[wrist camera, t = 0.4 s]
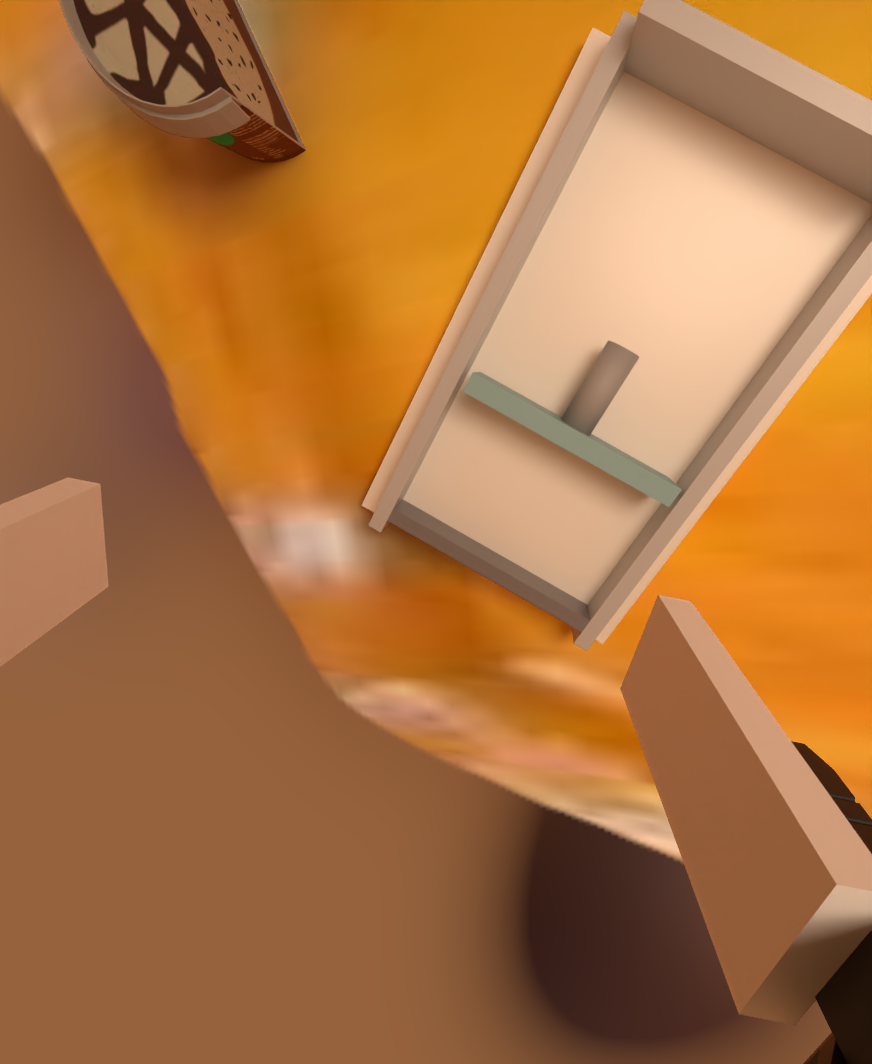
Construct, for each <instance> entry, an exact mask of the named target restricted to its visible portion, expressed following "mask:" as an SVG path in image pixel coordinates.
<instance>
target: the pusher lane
mask: <svg viewBox="0 0 872 1064" xmlns="http://www.w3.org/2000/svg"><path fill="white" fill-rule="evenodd" d="M871 293H872V100H870V99H868V98H866V97H864V96H862V95H860V94H858V93H856V92H855V91H853V90H851V89H849V88H847V87H845V86H843V85H841V84H839V83H837V82H836V81H834V80H832V79H830V78H828V77H826V76H824V75H822V74H820V73H819V72H817V71H815V70H813V69H811V68H809V67H807V66H805V65H803V64H801V63H800V62H798V61H796V60H794V59H792V58H790V57H788V56H786V55H784V54H782V53H781V52H779V51H777V50H775V49H773V48H771V47H769V46H767V45H765V44H764V43H762V42H760V41H758V40H756V39H754V38H752V37H750V36H748V35H746V34H745V33H743V32H741V31H739V30H737V29H735V28H733V27H731V26H729V25H728V24H726V23H724V22H722V21H720V20H718V19H716V18H714V17H712V16H710V15H709V14H707V13H705V12H703V11H701V10H699V9H697V8H695V7H693V6H691V5H690V4H688V3H686V2H684V1H682V0H644V2H643V4H642V6H641V8H640V10H639V12H638V16H637V17H636V16H634V15H632V14H630V13H628V12H626V11H624V12H623V14H622V16H621V18H620V20H619V22H618V24H617V26H616V28H615V30H614V32H613V34H612V36H611V37H610V36H608V35H607V34H605V33H603V32H601V31H599V30H597V29H595V28H592V30H591V32H590V34H589V36H588V38H587V40H586V42H585V44H584V47H583V49H582V51H581V53H580V55H579V57H578V59H577V61H576V63H575V65H574V67H573V69H572V71H571V73H570V75H569V78H568V80H567V82H566V84H565V86H564V88H563V90H562V92H561V94H560V96H559V98H558V100H557V102H556V104H555V106H554V109H553V111H552V113H551V115H550V117H549V119H548V121H547V123H546V125H545V127H544V129H543V131H542V133H541V135H540V137H539V140H538V142H537V144H536V146H535V148H534V150H533V152H532V154H531V156H530V158H529V160H528V162H527V164H526V166H525V168H524V171H523V173H522V175H521V177H520V179H519V181H518V183H517V185H516V187H515V189H514V191H513V193H512V195H511V197H510V199H509V201H508V204H507V206H506V208H505V210H504V212H503V214H502V216H501V218H500V220H499V222H498V224H497V226H496V228H495V230H494V232H493V235H492V237H491V239H490V241H489V243H488V245H487V247H486V249H485V251H484V253H483V255H482V257H481V259H480V261H479V263H478V266H477V268H476V270H475V272H474V274H473V276H472V278H471V280H470V282H469V284H468V286H467V288H466V290H465V292H464V294H463V297H462V299H461V301H460V303H459V305H458V307H457V309H456V311H455V313H454V315H453V317H452V319H451V321H450V323H449V325H448V328H447V330H446V332H445V334H444V336H443V338H442V340H441V342H440V344H439V346H438V348H437V350H436V352H435V354H434V356H433V359H432V361H431V363H430V365H429V367H428V369H427V371H426V373H425V375H424V377H423V379H422V381H421V383H420V385H419V387H418V390H417V392H416V394H415V396H414V398H413V400H412V402H411V404H410V406H409V408H408V410H407V412H406V414H405V416H404V418H403V421H402V423H401V425H400V427H399V429H398V431H397V433H396V435H395V437H394V439H393V441H392V443H391V445H390V447H389V449H388V451H387V454H386V456H385V458H384V460H383V462H382V464H381V466H380V468H379V470H378V472H377V474H376V476H375V478H374V480H373V482H372V485H371V487H370V489H369V491H368V493H367V495H366V497H365V499H364V501H363V503H362V505H361V506H363V507H365V508H367V509H368V510H370V511H372V512H374V515H373V517H372V519H371V521H370V523H369V525H368V526H370V527H372V528H373V529H375V530H377V531H379V532H380V533H381V532H382V531H383V530H384V529H385V528H386V527H387V526H388V525H389V524H390V523H392V524H394V525H395V526H397V527H399V528H401V529H402V530H404V531H406V532H408V533H409V534H411V535H413V536H415V537H416V538H418V539H420V540H422V541H423V542H425V543H427V544H429V545H430V546H432V547H434V548H435V549H437V550H439V551H441V552H442V553H444V554H446V555H448V556H449V557H451V558H453V559H455V560H456V561H458V562H460V563H462V564H463V565H465V566H467V567H469V568H470V569H472V570H474V571H476V572H477V573H479V574H481V575H483V576H484V577H486V578H488V579H490V580H491V581H493V582H495V583H496V584H498V585H500V586H502V587H503V588H505V589H507V590H509V591H510V592H512V593H514V594H516V595H517V596H519V597H521V598H523V599H524V600H526V601H528V602H530V603H531V604H533V605H535V606H537V607H538V608H540V609H542V610H544V611H545V612H547V613H549V614H551V615H552V616H554V617H556V618H558V619H559V620H561V621H563V622H564V623H566V624H568V625H570V626H571V627H572V631H573V643H574V644H575V645H577V646H579V647H580V648H582V649H584V650H586V651H587V650H588V649H589V647H590V646H591V645H592V643H593V642H594V641H595V640H597V641H599V642H600V643H602V644H603V643H604V642H605V640H606V639H607V638H608V636H609V635H610V634H611V632H612V631H613V630H614V629H615V627H616V626H617V625H618V623H619V622H620V621H621V619H622V618H623V617H624V615H625V614H626V613H627V612H628V610H629V609H630V608H631V606H632V605H633V604H634V602H635V601H636V600H637V599H638V597H639V596H640V595H641V593H642V592H643V591H644V589H645V588H646V587H647V586H648V584H649V583H650V582H651V580H652V579H653V578H654V576H655V575H656V574H657V572H658V571H659V570H660V569H661V567H662V566H663V565H664V563H665V562H666V561H667V559H668V558H669V557H670V556H671V554H672V553H673V552H674V550H675V549H676V548H677V546H678V545H679V544H680V542H681V541H682V540H683V539H684V537H685V536H686V535H687V533H688V532H689V531H690V529H691V528H692V527H693V526H694V524H695V523H696V522H697V520H698V519H699V518H700V516H701V515H702V514H703V513H704V511H705V510H706V509H707V507H708V506H709V505H710V503H711V502H712V501H713V499H714V498H715V497H716V496H717V494H718V493H719V492H720V490H721V489H722V488H723V486H724V485H725V484H726V483H727V481H728V480H729V479H730V477H731V476H732V475H733V473H734V472H735V471H736V469H737V468H738V467H739V466H740V464H741V463H742V462H743V460H744V459H745V458H746V456H747V455H748V454H749V453H750V451H751V450H752V449H753V447H754V446H755V445H756V443H757V442H758V441H759V440H760V438H761V437H762V436H763V434H764V433H765V432H766V430H767V429H768V428H769V426H770V425H771V424H772V423H773V421H774V420H775V419H776V417H777V416H778V415H779V413H780V412H781V411H782V410H783V408H784V407H785V406H786V404H787V403H788V402H789V400H790V399H791V398H792V396H793V395H794V394H795V393H796V391H797V390H798V389H799V387H800V386H801V385H802V383H803V382H804V381H805V380H806V378H807V377H808V376H809V374H810V373H811V372H812V370H813V369H814V368H815V367H816V365H817V364H818V363H819V361H820V360H821V359H822V357H823V356H824V355H825V353H826V352H827V351H828V350H829V348H830V347H831V346H832V344H833V343H834V342H835V340H836V339H837V338H838V337H839V335H840V334H841V333H842V331H843V330H844V329H845V327H846V326H847V325H848V323H849V322H850V321H851V320H852V318H853V317H854V316H855V314H856V313H857V312H858V310H859V309H860V308H861V307H862V305H863V304H864V303H865V301H866V300H867V299H868V297H869V296H870V295H871ZM608 340H609V341H612V342H614V343H617V344H619V345H621V346H622V347H624V348H626V349H628V350H630V351H631V352H633V353H635V354H636V355H638V356H639V359H638V360H637V362H636V364H635V365H634V367H633V368H632V370H631V371H630V373H629V375H628V376H627V378H626V379H625V381H624V382H623V384H622V386H621V387H620V389H619V390H618V392H617V394H616V395H615V397H614V398H613V400H612V401H611V403H610V405H609V406H608V408H607V409H606V411H605V412H604V414H603V416H602V417H601V419H600V420H599V422H598V423H597V425H596V427H595V428H594V430H593V431H592V433H591V434H592V435H594V436H596V437H598V438H600V439H601V440H603V441H605V442H607V443H608V444H610V445H612V446H614V447H616V448H617V449H619V450H621V451H623V452H625V453H626V454H628V455H630V456H632V457H633V458H635V459H637V460H639V461H641V462H642V463H644V464H646V465H648V466H650V467H651V468H653V469H655V470H657V471H658V472H660V473H662V474H664V475H666V476H667V477H669V478H670V479H671V480H672V481H673V482H674V483H675V484H677V485H678V486H679V487H680V488H681V489H682V490H681V492H680V493H679V495H678V496H677V497H676V499H675V500H674V501H673V503H672V504H671V505H670V507H667V506H666V505H664V504H662V503H660V502H659V501H657V500H655V499H653V498H651V497H650V496H648V495H646V494H644V493H643V492H641V491H639V490H637V489H635V488H634V487H632V486H630V485H628V484H627V483H625V482H623V481H621V480H619V479H618V478H616V477H614V476H612V475H610V474H609V473H607V472H605V471H603V470H602V469H600V468H598V467H596V466H594V465H593V464H591V463H589V462H587V461H586V460H584V459H582V458H580V457H578V456H577V455H575V454H573V453H571V452H570V451H568V450H566V449H564V448H562V447H561V446H559V445H557V444H555V443H554V442H552V441H550V440H548V439H546V438H545V437H543V436H541V435H539V434H538V433H536V432H534V431H532V430H530V429H529V428H527V427H525V426H523V425H522V424H520V423H518V422H516V421H514V420H513V419H511V418H509V417H507V416H505V415H504V414H502V413H500V412H498V411H497V410H495V409H493V408H491V407H489V406H488V405H486V404H484V403H482V402H481V401H479V400H477V399H475V398H473V397H472V396H470V395H468V394H466V393H465V392H463V390H464V388H465V386H466V384H467V382H468V381H469V379H470V377H471V375H472V373H473V372H482V373H483V374H485V375H487V376H489V377H491V378H492V379H494V380H496V381H498V382H500V383H501V384H503V385H505V386H507V387H508V388H510V389H512V390H514V391H516V392H517V393H519V394H521V395H523V396H525V397H526V398H528V399H530V400H532V401H533V402H535V403H537V404H539V405H541V406H542V407H544V408H546V409H548V410H550V411H551V412H553V413H555V414H557V415H558V416H560V417H562V416H563V414H564V413H565V411H566V409H567V408H568V406H569V404H570V403H571V401H572V399H573V398H574V396H575V394H576V393H577V391H578V390H579V388H580V386H581V385H582V383H583V381H584V380H585V378H586V376H587V375H588V373H589V371H590V370H591V368H592V366H593V365H594V363H595V361H596V360H597V358H598V356H599V355H600V353H601V351H602V350H603V348H604V346H605V345H606V343H607V341H608Z"/></svg>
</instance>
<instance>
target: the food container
mask: <svg viewBox="0 0 872 1064" xmlns="http://www.w3.org/2000/svg"><path fill="white" fill-rule="evenodd" d="M59 2H60V5H61V9H62V12H63V15H64V17H65V19H66V22H67V24H68V26H69V28H70V31H71V33H72V35H73V37H74V39H75V40H76V42H77V44H78V45H79V47H80V49H81V50H82V52H83V54H84V55H85V56H86V58H87V60H88V62H89V63H90V65H91V67H92V68H93V69H94V70H95V72H96V73H97V74H98V75H99V77H100V78H101V79H102V81H103V82H104V83H105V84H106V85H107V86H108V87H109V88H110V89H111V90H112V91H113V92H114V93H115V94H116V95H117V96H118V97H119V98H120V99H121V100H122V101H123V102H124V103H125V104H126V105H127V106H128V107H129V108H130V109H131V110H132V111H133V112H134V113H135V114H136V115H137V116H139V117H140V118H142V119H143V120H145V121H146V122H148V123H149V124H151V125H152V126H154V127H156V128H158V129H160V130H163V131H165V132H167V133H169V134H173V135H178V136H182V137H186V138H208V139H210V140H212V141H214V142H216V143H218V144H220V145H222V146H224V147H226V148H228V149H230V150H232V151H234V152H236V153H238V154H240V155H242V156H244V157H247V158H249V159H251V160H255V161H260V162H279V161H285V160H287V159H290V158H293V157H295V156H297V155H299V154H300V153H302V152H304V151H305V147H304V145H303V143H302V141H301V139H300V136H299V134H298V132H297V130H296V128H295V125H294V123H293V121H292V119H291V117H290V115H289V112H288V110H287V108H286V106H285V104H284V101H283V99H282V97H281V95H280V93H279V90H278V88H277V86H276V84H275V82H274V80H273V77H272V75H271V73H270V71H269V69H268V66H267V64H266V62H265V60H264V58H263V55H262V53H261V51H260V49H259V47H258V45H257V42H256V40H255V38H254V36H253V34H252V31H251V29H250V27H249V25H248V23H247V20H246V18H245V16H244V14H243V12H242V10H241V7H240V5H239V3H238V1H237V0H59Z"/></svg>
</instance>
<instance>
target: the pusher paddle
mask: <svg viewBox="0 0 872 1064" xmlns="http://www.w3.org/2000/svg"><path fill="white" fill-rule="evenodd" d="M638 359H639V356H638V355H636V354H635V353H633V352H631V351H630V350H628V349H626V348H624V347H622V346H621V345H619V344H617V343H614V342H612V341H609V340H608V341H607V343H606V345H605V346H604V348H603V350H602V351H601V353H600V355H599V356H598V358H597V360H596V361H595V363H594V365H593V366H592V368H591V370H590V371H589V373H588V375H587V376H586V378H585V380H584V381H583V383H582V385H581V386H580V388H579V390H578V391H577V393H576V394H575V396H574V398H573V399H572V401H571V403H570V404H569V406H568V408H567V409H566V411H565V413H564V414H563V416H562V417H560V416H558V415H557V414H555V413H553V412H551V411H550V410H548V409H546V408H544V407H542V406H541V405H539V404H537V403H535V402H533V401H532V400H530V399H528V398H526V397H525V396H523V395H521V394H519V393H517V392H516V391H514V390H512V389H510V388H508V387H507V386H505V385H503V384H501V383H500V382H498V381H496V380H494V379H492V378H491V377H489V376H487V375H485V374H483V373H482V372H473V373H472V375H471V377H470V379H469V381H468V382H467V384H466V386H465V388H464V390H463V392H465V393H466V394H468V395H470V396H472V397H473V398H475V399H477V400H479V401H481V402H482V403H484V404H486V405H488V406H489V407H491V408H493V409H495V410H497V411H498V412H500V413H502V414H504V415H505V416H507V417H509V418H511V419H513V420H514V421H516V422H518V423H520V424H522V425H523V426H525V427H527V428H529V429H530V430H532V431H534V432H536V433H538V434H539V435H541V436H543V437H545V438H546V439H548V440H550V441H552V442H554V443H555V444H557V445H559V446H561V447H562V448H564V449H566V450H568V451H570V452H571V453H573V454H575V455H577V456H578V457H580V458H582V459H584V460H586V461H587V462H589V463H591V464H593V465H594V466H596V467H598V468H600V469H602V470H603V471H605V472H607V473H609V474H610V475H612V476H614V477H616V478H618V479H619V480H621V481H623V482H625V483H627V484H628V485H630V486H632V487H634V488H635V489H637V490H639V491H641V492H643V493H644V494H646V495H648V496H650V497H651V498H653V499H655V500H657V501H659V502H660V503H662V504H664V505H666V506H667V507H670V505H671V504H672V503H673V501H674V500H675V499H676V497H677V496H678V495H679V493H680V492H681V490H682V489H681V488H680V487H679V486H678V485H677V484H675V483H674V482H673V481H672V480H671V479H670V478H669V477H667V476H666V475H664V474H662V473H660V472H658V471H657V470H655V469H653V468H651V467H650V466H648V465H646V464H644V463H642V462H641V461H639V460H637V459H635V458H633V457H632V456H630V455H628V454H626V453H625V452H623V451H621V450H619V449H617V448H616V447H614V446H612V445H610V444H608V443H607V442H605V441H603V440H601V439H600V438H598V437H596V436H594V435H592V434H591V433H592V431H593V430H594V428H595V427H596V425H597V423H598V422H599V420H600V419H601V417H602V416H603V414H604V412H605V411H606V409H607V408H608V406H609V405H610V403H611V401H612V400H613V398H614V397H615V395H616V394H617V392H618V390H619V389H620V387H621V386H622V384H623V382H624V381H625V379H626V378H627V376H628V375H629V373H630V371H631V370H632V368H633V367H634V365H635V364H636V362H637V360H638Z"/></svg>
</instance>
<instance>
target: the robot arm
mask: <svg viewBox="0 0 872 1064" xmlns="http://www.w3.org/2000/svg"><path fill="white" fill-rule="evenodd" d="M107 587H108V574H107V561H106V549H105V537H104V524H103V512H102V500H101V488H100V484H98V483H93V482H88V481H83V480H78V479H73V478H65V479H63V480H60V481H58V482H55V483H53V484H50V485H48V486H46V487H43V488H40V489H38V490H36V491H33V492H31V493H28V494H26V495H23V496H21V497H18V498H16V499H13V500H11V501H8V502H6V503H3V504H1V505H0V666H2V665H3V664H4V663H6V662H7V661H9V660H10V659H11V658H13V657H14V656H15V655H17V654H18V653H19V652H21V651H22V650H23V649H25V648H26V647H28V646H29V645H30V644H32V643H33V642H34V641H36V640H37V639H38V638H40V637H41V636H42V635H43V634H45V633H46V632H48V631H49V630H50V629H52V628H53V627H54V626H56V625H57V624H58V623H60V622H61V621H63V620H64V619H65V618H67V617H68V616H69V615H71V614H72V613H73V612H75V611H76V610H77V609H79V608H80V607H81V606H83V605H84V604H85V603H87V602H88V601H89V600H91V599H92V598H94V597H95V596H96V595H98V594H99V593H100V592H102V591H103V590H104V589H106V588H107ZM620 689H621V691H622V694H623V697H624V700H625V702H626V705H627V708H628V711H629V713H630V716H631V719H632V722H633V724H634V727H635V730H636V733H637V735H638V738H639V741H640V744H641V746H642V749H643V752H644V755H645V757H646V760H647V763H648V766H649V768H650V771H651V774H652V777H653V779H654V782H655V785H656V788H657V790H658V793H659V796H660V799H661V801H662V804H663V807H664V810H665V812H666V815H667V818H668V821H669V823H670V826H671V829H672V832H673V834H674V837H675V840H676V843H677V845H678V848H679V851H680V854H681V856H682V859H683V862H684V865H685V867H686V870H687V873H688V876H689V878H690V881H691V884H692V887H693V889H694V892H695V895H696V898H697V900H698V903H699V906H700V908H701V911H702V914H703V917H704V919H705V922H706V925H707V928H708V930H709V933H710V936H711V939H712V942H713V944H714V947H715V950H716V952H717V955H718V958H719V961H720V964H721V966H722V969H723V972H724V974H725V977H726V980H727V983H728V986H729V988H730V991H731V994H732V997H733V999H734V1002H735V1005H736V1008H737V1010H738V1013H739V1014H741V1015H746V1016H752V1017H756V1018H761V1019H766V1020H772V1021H776V1022H781V1023H786V1024H791V1025H795V1024H796V1023H797V1022H798V1021H799V1020H800V1018H801V1017H802V1016H803V1015H804V1014H805V1012H806V1011H807V1010H808V1009H809V1008H810V1006H811V1005H812V1004H813V1003H814V1002H815V1001H816V1000H817V1002H818V1004H819V1006H820V1008H821V1010H822V1012H823V1014H824V1016H825V1019H826V1021H827V1023H828V1025H829V1027H830V1029H831V1031H832V1033H831V1034H830V1035H829V1036H828V1037H827V1038H826V1039H825V1041H824V1042H823V1043H822V1044H821V1045H820V1046H819V1047H818V1048H817V1049H816V1050H815V1051H814V1053H813V1054H812V1055H811V1056H810V1057H809V1058H808V1059H807V1060H806V1062H804V1064H872V819H871V818H870V817H869V815H868V814H867V813H866V811H865V810H864V809H863V807H862V806H861V805H860V804H859V803H855V797H854V796H853V794H852V793H851V792H850V790H849V789H848V788H847V787H846V785H845V784H844V783H843V781H842V780H841V779H840V777H839V776H838V775H837V773H836V772H835V771H834V770H833V769H832V768H831V767H830V766H829V765H828V764H827V763H825V762H824V761H823V760H822V759H821V758H820V757H819V756H817V755H816V754H815V753H814V752H813V751H812V750H811V749H809V748H808V747H807V746H806V745H805V744H802V743H797V742H792V741H791V740H790V739H789V738H788V736H787V735H786V733H785V732H784V731H783V729H782V728H781V726H780V725H779V724H778V722H777V721H776V719H775V718H774V717H773V715H772V714H771V712H770V711H769V710H768V708H767V707H766V705H765V704H764V703H763V701H762V700H761V698H760V697H759V696H758V694H757V693H756V691H755V690H754V689H753V687H752V686H751V684H750V683H749V682H748V680H747V679H746V677H745V676H744V675H743V673H742V672H741V670H740V669H739V668H738V666H737V665H736V663H735V662H734V661H733V659H732V658H731V656H730V655H729V654H728V652H727V651H726V649H725V648H724V647H723V645H722V644H721V642H720V641H719V640H718V638H717V637H716V635H715V634H714V633H713V631H712V630H711V628H710V627H709V626H708V624H707V623H706V621H705V620H704V619H703V617H702V616H701V614H700V613H699V612H698V610H697V609H696V607H695V606H694V605H693V603H692V602H691V601H687V600H682V599H677V598H672V597H667V596H662V595H658V597H657V599H656V602H655V604H654V607H653V609H652V612H651V614H650V617H649V619H648V622H647V624H646V627H645V629H644V632H643V634H642V636H641V639H640V641H639V644H638V646H637V649H636V651H635V654H634V656H633V659H632V661H631V664H630V666H629V669H628V671H627V674H626V676H625V679H624V681H623V683H622V686H621V688H620Z"/></svg>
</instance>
